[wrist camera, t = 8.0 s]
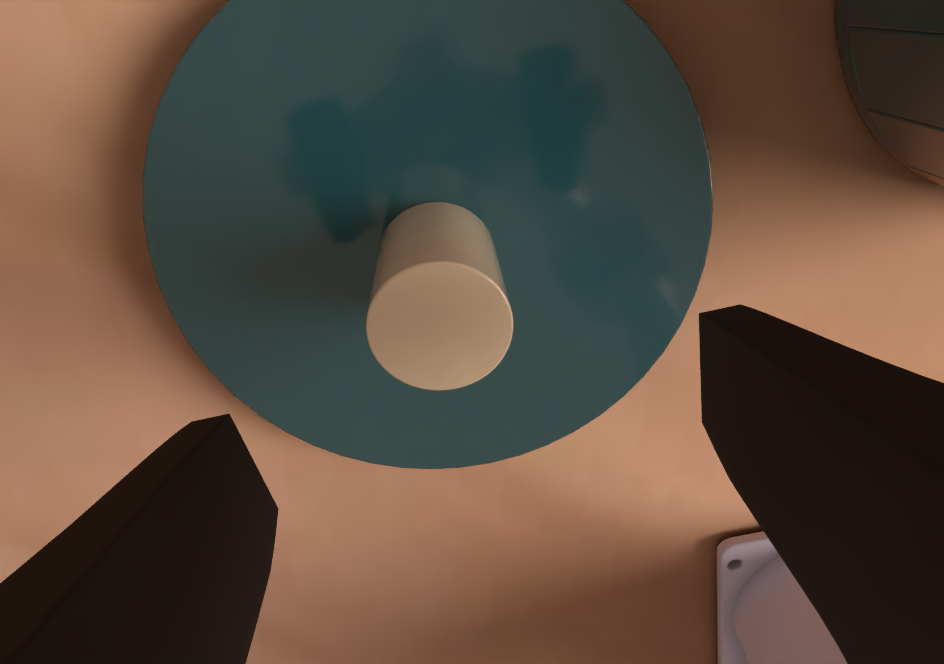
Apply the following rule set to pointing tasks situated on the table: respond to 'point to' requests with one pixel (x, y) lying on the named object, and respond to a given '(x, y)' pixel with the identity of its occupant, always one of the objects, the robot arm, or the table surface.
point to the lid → (427, 217)
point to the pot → (898, 76)
